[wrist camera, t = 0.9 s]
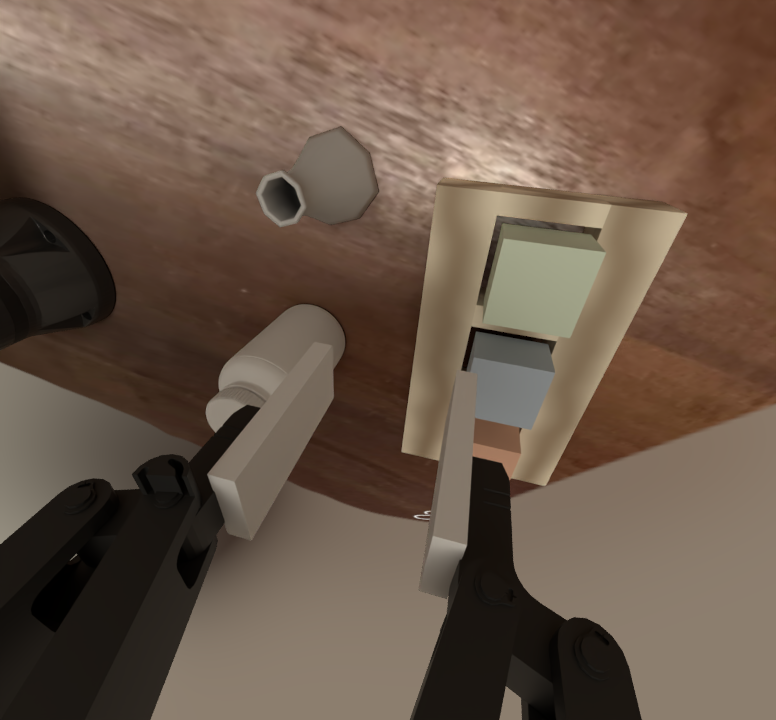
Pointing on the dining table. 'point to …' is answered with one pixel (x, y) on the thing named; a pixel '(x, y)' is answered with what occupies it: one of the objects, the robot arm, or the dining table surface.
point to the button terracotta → (497, 443)
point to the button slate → (510, 378)
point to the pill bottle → (272, 359)
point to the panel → (569, 355)
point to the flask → (321, 182)
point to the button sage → (540, 279)
